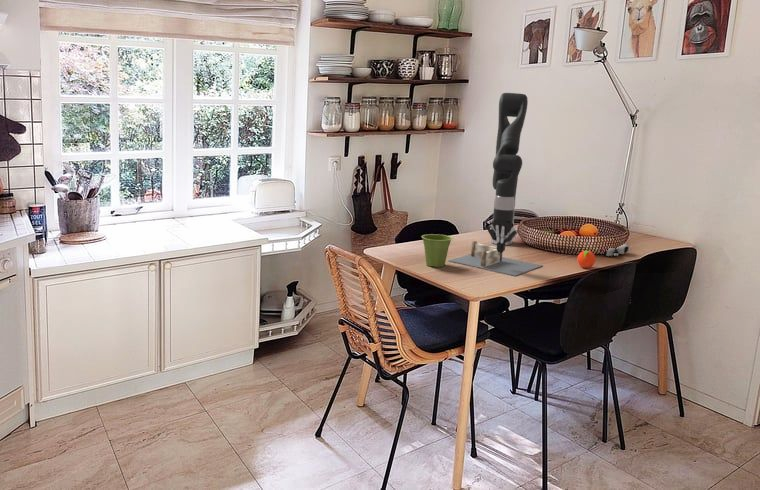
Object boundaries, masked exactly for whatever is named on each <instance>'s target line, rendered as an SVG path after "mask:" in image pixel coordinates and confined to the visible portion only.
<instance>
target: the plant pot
mask: <svg viewBox="0 0 760 490" xmlns="http://www.w3.org/2000/svg"><path fill="white" fill-rule="evenodd" d="M421 239H422V241H423V246H424V257H425V264H426V266H427V267H434V268H441V267H444V266H445V265H446V261H447V257H448V252H449V247H450V245H451V242H452V241H453V237H452V236H450V235H446V234H433V233H431V234H430V233H429V234H423V235H421ZM451 240H452V241H451Z"/></svg>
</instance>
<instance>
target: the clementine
mask: <svg viewBox="0 0 760 490" xmlns="http://www.w3.org/2000/svg"><path fill="white" fill-rule="evenodd" d="M576 259H577V260H576V261H577V264H578V265H579V266H580V267H581V268H584V269H589V268H591V267H593V266H594V265H595V263H596V261H597V260H596V255H595V253H593V251H590V250H588V249H587V250H582V251H581V252H580V253H579V254H578V255H577V258H576Z"/></svg>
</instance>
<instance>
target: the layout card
mask: <svg viewBox="0 0 760 490" xmlns="http://www.w3.org/2000/svg"><path fill="white" fill-rule="evenodd" d="M448 262H449V263H455V264H458V265H462V266H468V267H472V268H476V269H481V270H484V271H490V272H495V273H499V274H503V275H508V276H510V277H511V276H512V277H517V276H520V275H523V274H526V273H528V272H530V271H534V270H536V269H539V268H542V267H543V265H542V264H537V263H533V262H528V261H523V260H520V259H519V260H518V259H515V258H509V257H504V256H502V261H498V262H495V263H492V264H489V265H486V266H481V258H478V257H472V256H471V253H470V254H467V255H462V256H458V257H456V258H451V259H449V260H448Z"/></svg>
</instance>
